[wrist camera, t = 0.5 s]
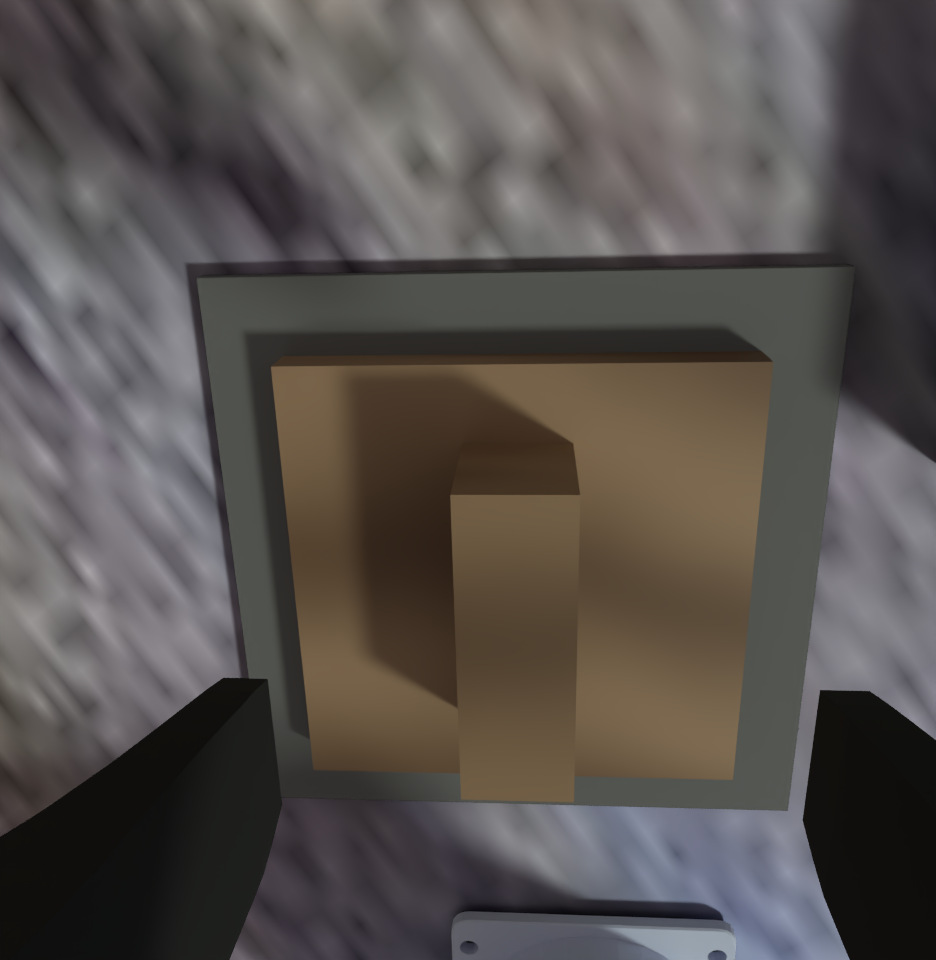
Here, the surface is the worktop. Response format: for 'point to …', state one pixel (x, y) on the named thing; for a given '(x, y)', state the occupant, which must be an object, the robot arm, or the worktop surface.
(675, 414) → the lid
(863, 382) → the worktop surface
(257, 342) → the mat
